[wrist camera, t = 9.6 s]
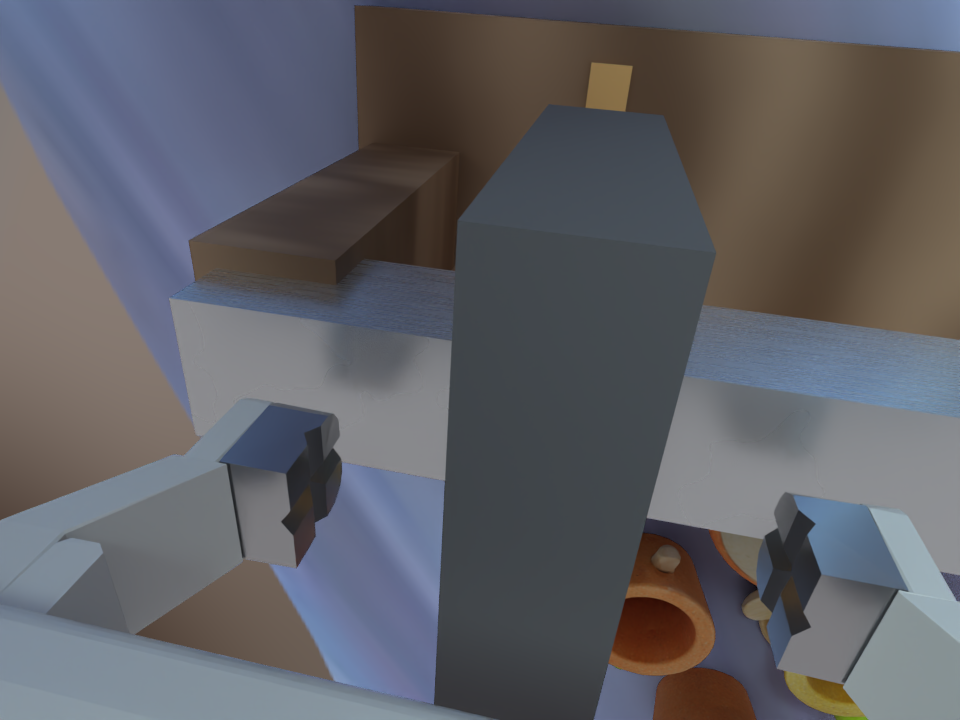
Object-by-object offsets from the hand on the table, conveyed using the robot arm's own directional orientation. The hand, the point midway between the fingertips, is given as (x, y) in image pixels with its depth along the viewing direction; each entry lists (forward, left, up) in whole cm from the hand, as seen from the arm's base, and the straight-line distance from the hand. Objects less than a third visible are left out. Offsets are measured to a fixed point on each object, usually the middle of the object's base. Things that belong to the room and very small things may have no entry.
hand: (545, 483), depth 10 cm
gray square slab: (0, 0, -7) cm, 7 cm away
